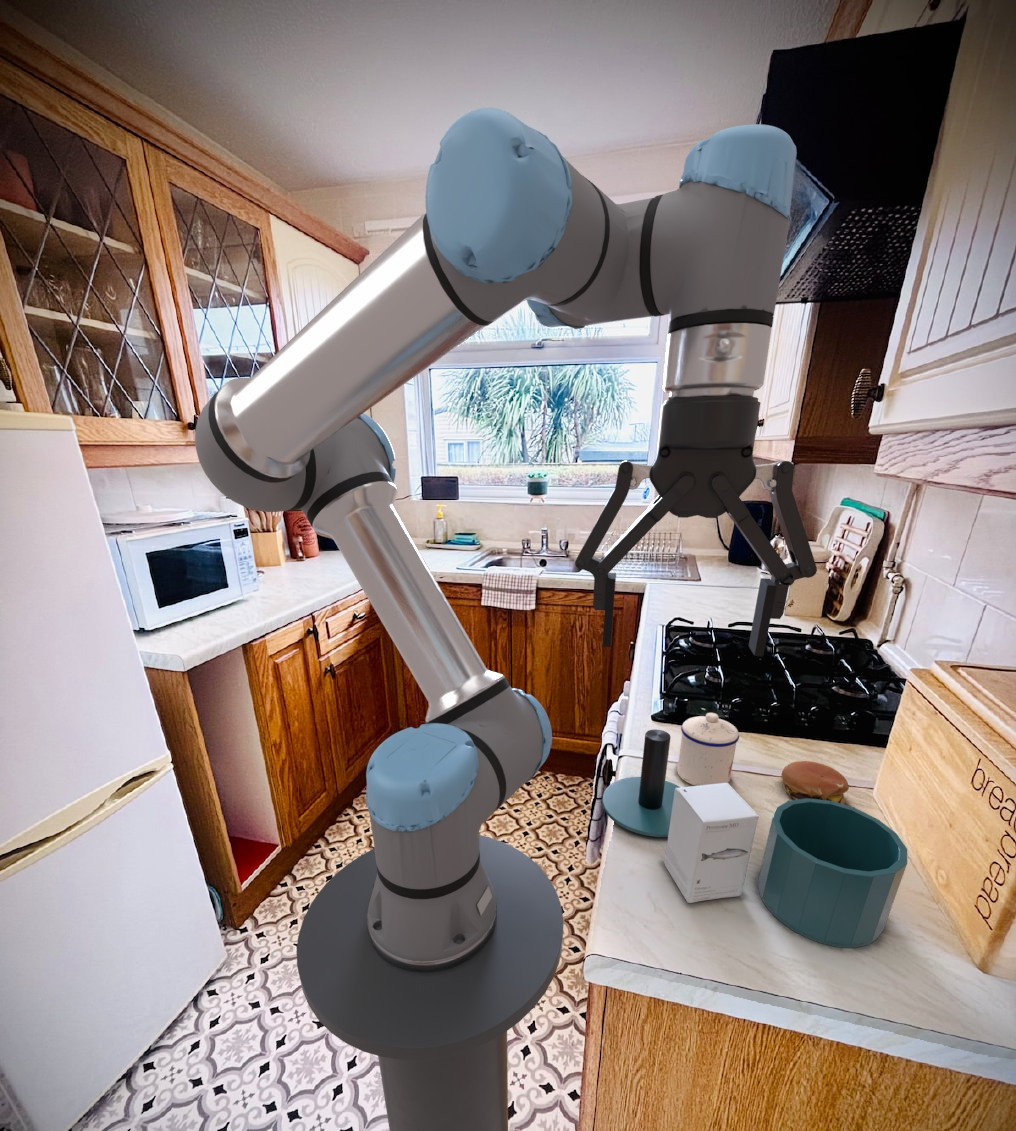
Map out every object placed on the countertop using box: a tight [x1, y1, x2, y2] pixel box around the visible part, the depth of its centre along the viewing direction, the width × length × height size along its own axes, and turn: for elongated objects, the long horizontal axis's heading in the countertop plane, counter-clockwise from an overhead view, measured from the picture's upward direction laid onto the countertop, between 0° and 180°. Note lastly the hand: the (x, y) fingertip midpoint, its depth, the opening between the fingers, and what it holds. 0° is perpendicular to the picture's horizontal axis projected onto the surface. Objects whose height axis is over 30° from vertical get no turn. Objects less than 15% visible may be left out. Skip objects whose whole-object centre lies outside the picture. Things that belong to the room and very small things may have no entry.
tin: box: [757, 798, 908, 949], centre depth 65 cm, size 14×14×10 cm
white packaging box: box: [663, 782, 759, 904], centre depth 68 cm, size 7×7×13 cm
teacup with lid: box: [676, 712, 740, 786], centre depth 93 cm, size 12×9×12 cm
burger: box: [781, 760, 850, 805], centre depth 87 cm, size 10×9×5 cm
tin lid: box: [601, 729, 681, 838], centre depth 82 cm, size 15×15×13 cm
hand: (679, 647), depth 52 cm, fingers open, 13 cm apart
